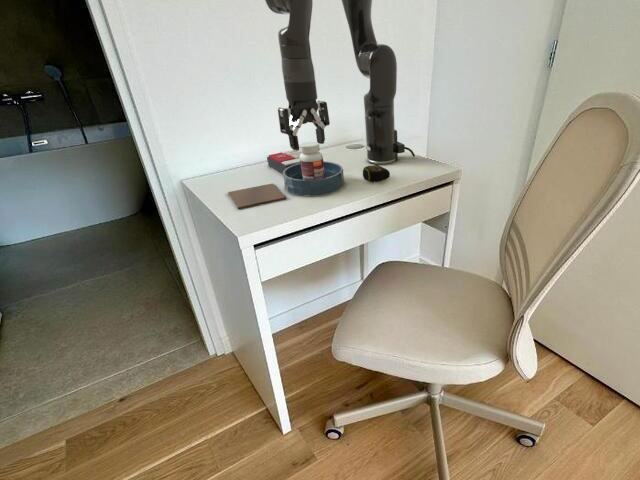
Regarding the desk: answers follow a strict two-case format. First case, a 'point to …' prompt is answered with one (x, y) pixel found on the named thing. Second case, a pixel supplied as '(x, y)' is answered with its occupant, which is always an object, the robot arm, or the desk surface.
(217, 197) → the desk surface
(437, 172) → the desk surface
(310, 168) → the pill bottle
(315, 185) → the bowl
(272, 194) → the coaster
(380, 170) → the tape measure
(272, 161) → the calculator
